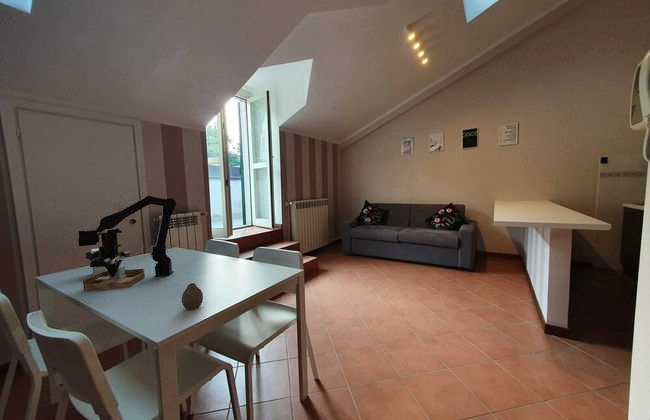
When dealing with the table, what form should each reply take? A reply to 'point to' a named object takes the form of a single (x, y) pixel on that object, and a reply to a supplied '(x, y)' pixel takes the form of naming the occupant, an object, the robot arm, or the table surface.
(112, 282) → the box
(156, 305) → the table surface
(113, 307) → the table surface
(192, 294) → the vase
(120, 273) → the block
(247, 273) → the table surface
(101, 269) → the small box
